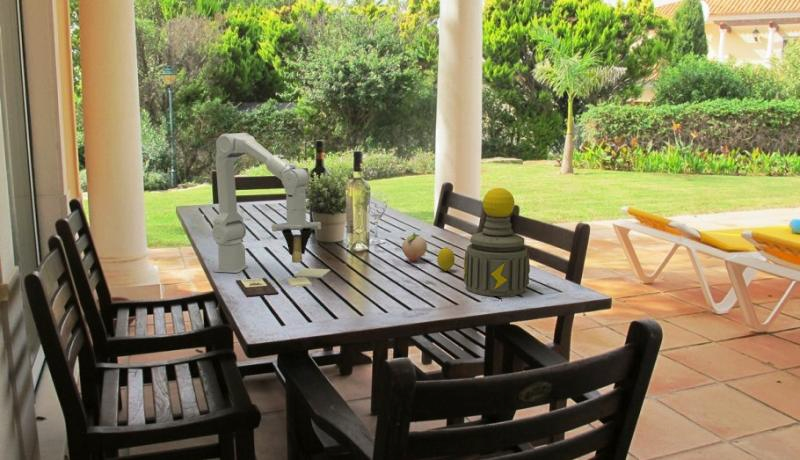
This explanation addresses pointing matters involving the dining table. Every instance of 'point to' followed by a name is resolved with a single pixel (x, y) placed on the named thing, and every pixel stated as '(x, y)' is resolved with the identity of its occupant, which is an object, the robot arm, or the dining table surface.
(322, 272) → the mat
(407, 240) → the decorative fruit
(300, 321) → the dining table surface
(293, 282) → the tile
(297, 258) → the dowel
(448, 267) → the lemon
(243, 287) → the chocolate bar
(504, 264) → the decorative lamp
